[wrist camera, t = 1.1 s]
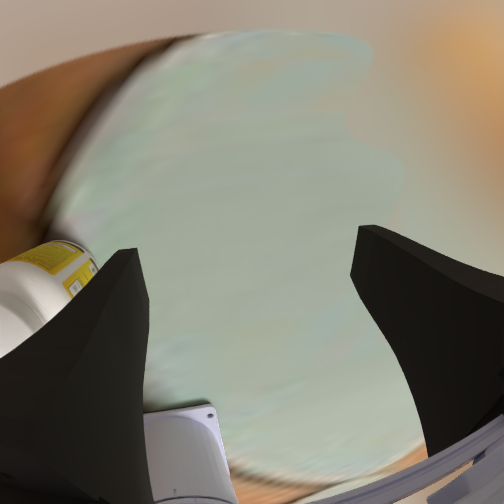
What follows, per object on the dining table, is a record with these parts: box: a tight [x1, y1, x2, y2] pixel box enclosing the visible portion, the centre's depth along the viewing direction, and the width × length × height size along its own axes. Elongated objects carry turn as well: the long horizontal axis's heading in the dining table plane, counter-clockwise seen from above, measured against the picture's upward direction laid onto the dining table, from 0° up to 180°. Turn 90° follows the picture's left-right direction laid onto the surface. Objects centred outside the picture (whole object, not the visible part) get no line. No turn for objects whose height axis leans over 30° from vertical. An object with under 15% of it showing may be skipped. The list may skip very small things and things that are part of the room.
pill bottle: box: [0, 240, 100, 358], centre depth 14 cm, size 6×6×11 cm
